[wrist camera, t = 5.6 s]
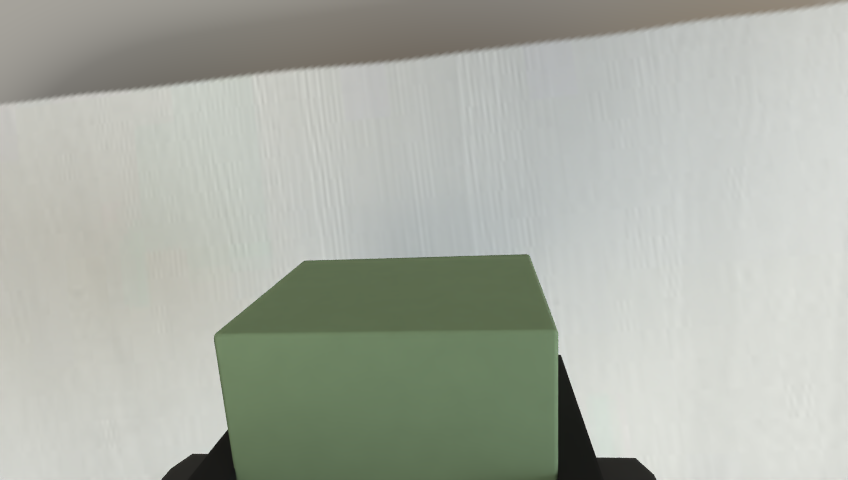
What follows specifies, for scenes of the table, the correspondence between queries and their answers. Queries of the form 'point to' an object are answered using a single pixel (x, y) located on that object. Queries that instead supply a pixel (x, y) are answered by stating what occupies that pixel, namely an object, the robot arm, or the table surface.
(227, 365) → the green rectangular block
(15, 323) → the table surface
